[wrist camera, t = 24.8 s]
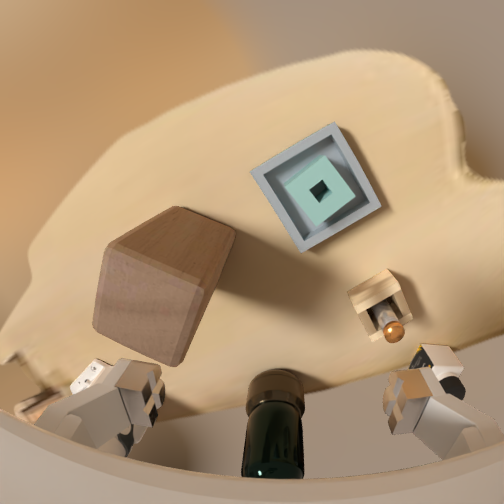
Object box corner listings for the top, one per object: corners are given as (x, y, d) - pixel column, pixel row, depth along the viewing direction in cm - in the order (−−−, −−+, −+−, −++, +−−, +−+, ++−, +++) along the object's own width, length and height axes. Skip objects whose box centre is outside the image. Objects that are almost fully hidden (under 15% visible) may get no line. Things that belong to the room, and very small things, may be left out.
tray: (299, 246, 44) (300, 253, 41) (251, 170, 41) (249, 171, 38) (375, 202, 41) (381, 206, 38) (330, 123, 38) (334, 121, 35)
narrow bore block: (311, 218, 42) (316, 226, 37) (283, 183, 40) (284, 187, 36) (346, 190, 40) (355, 196, 35) (319, 155, 39) (325, 155, 34)
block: (215, 289, 47) (177, 374, 28) (154, 263, 46) (87, 331, 27) (239, 228, 44) (209, 289, 25) (173, 202, 43) (101, 242, 24)
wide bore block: (364, 325, 47) (372, 342, 42) (346, 291, 45) (353, 307, 41) (402, 303, 45) (413, 319, 40) (386, 268, 44) (398, 281, 39)
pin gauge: (373, 309, 46) (391, 346, 37) (364, 298, 45) (381, 334, 36) (386, 298, 45) (408, 334, 36) (377, 287, 45) (398, 321, 35)
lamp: (261, 358, 50) (250, 467, 29) (312, 374, 51) (323, 481, 30) (241, 394, 53) (224, 495, 32) (288, 409, 54) (288, 508, 33)
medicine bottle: (419, 342, 47) (445, 385, 36) (449, 345, 47) (477, 385, 36) (403, 374, 50) (424, 418, 38) (433, 375, 49) (456, 416, 38)
